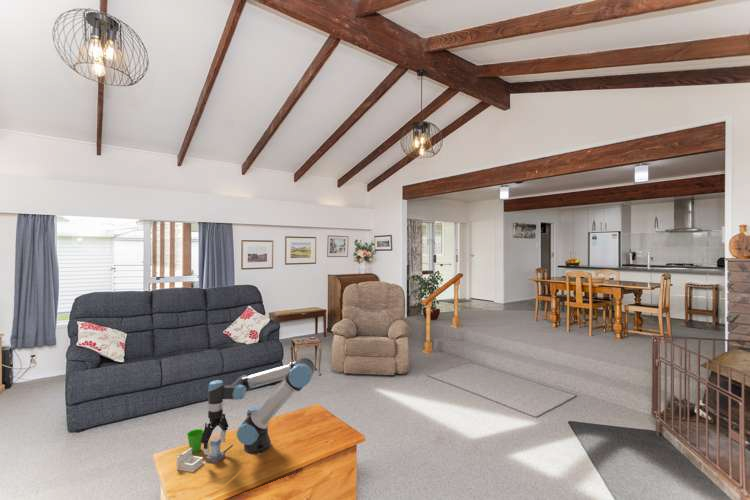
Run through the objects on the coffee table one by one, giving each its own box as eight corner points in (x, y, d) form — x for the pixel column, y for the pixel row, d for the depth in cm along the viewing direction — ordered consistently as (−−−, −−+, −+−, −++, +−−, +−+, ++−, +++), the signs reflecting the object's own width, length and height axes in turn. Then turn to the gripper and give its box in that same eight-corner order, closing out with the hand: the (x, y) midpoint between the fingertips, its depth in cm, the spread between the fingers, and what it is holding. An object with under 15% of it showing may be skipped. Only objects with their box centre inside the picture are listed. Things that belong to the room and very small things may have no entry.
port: (205, 463, 207) (205, 449, 207) (192, 473, 197) (192, 458, 198) (190, 460, 210) (190, 446, 210) (176, 470, 200) (176, 456, 200)
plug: (220, 457, 212) (220, 438, 212) (216, 461, 208) (216, 441, 208) (214, 456, 213) (214, 437, 213) (210, 460, 209) (210, 441, 209)
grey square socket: (224, 457, 213) (224, 452, 213) (216, 464, 206) (216, 459, 206) (214, 455, 215) (214, 451, 215) (205, 462, 208) (205, 457, 208)
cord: (233, 446, 225) (233, 444, 225) (220, 456, 214) (220, 454, 214) (232, 446, 225) (232, 444, 225) (219, 456, 214) (219, 454, 214)
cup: (197, 456, 214) (197, 436, 214) (183, 454, 216) (183, 435, 216) (207, 448, 223) (207, 429, 223) (193, 446, 224) (193, 428, 225)
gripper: (224, 400, 224) (223, 436, 223) (193, 417, 199) (193, 458, 199) (235, 401, 222) (234, 438, 221) (205, 419, 198) (205, 460, 197)
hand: (214, 447), depth 210 cm, fingers open, 13 cm apart
